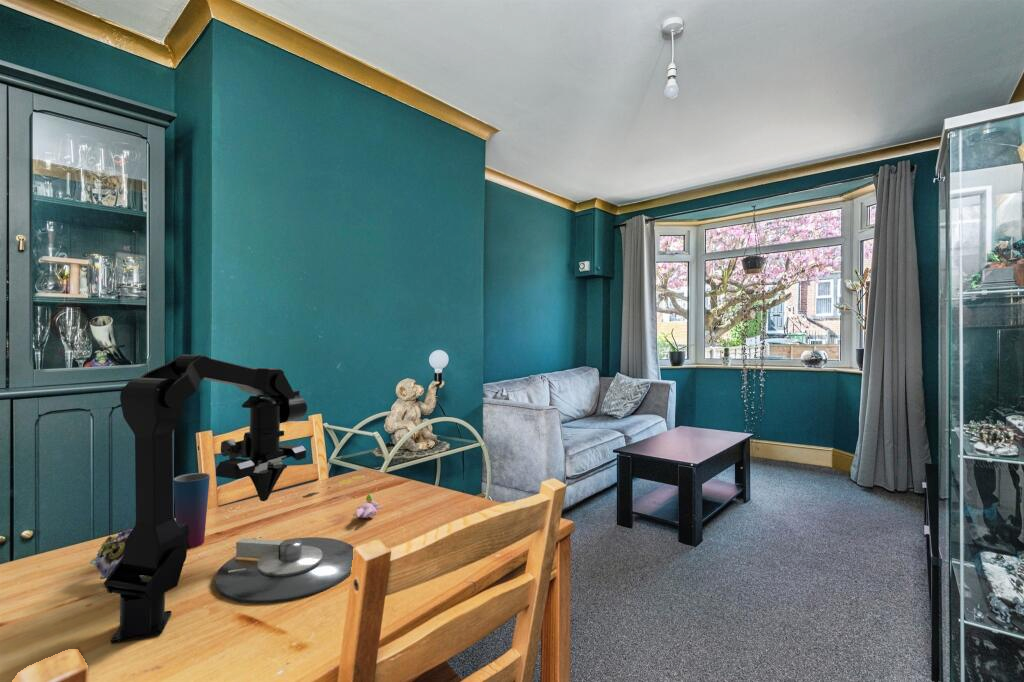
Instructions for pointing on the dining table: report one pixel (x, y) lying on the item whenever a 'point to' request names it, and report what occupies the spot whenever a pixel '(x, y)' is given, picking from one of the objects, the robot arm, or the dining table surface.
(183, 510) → the cup
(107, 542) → the passion flower
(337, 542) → the dial plate
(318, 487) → the dining table surface
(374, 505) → the purple flower
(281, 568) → the dial
